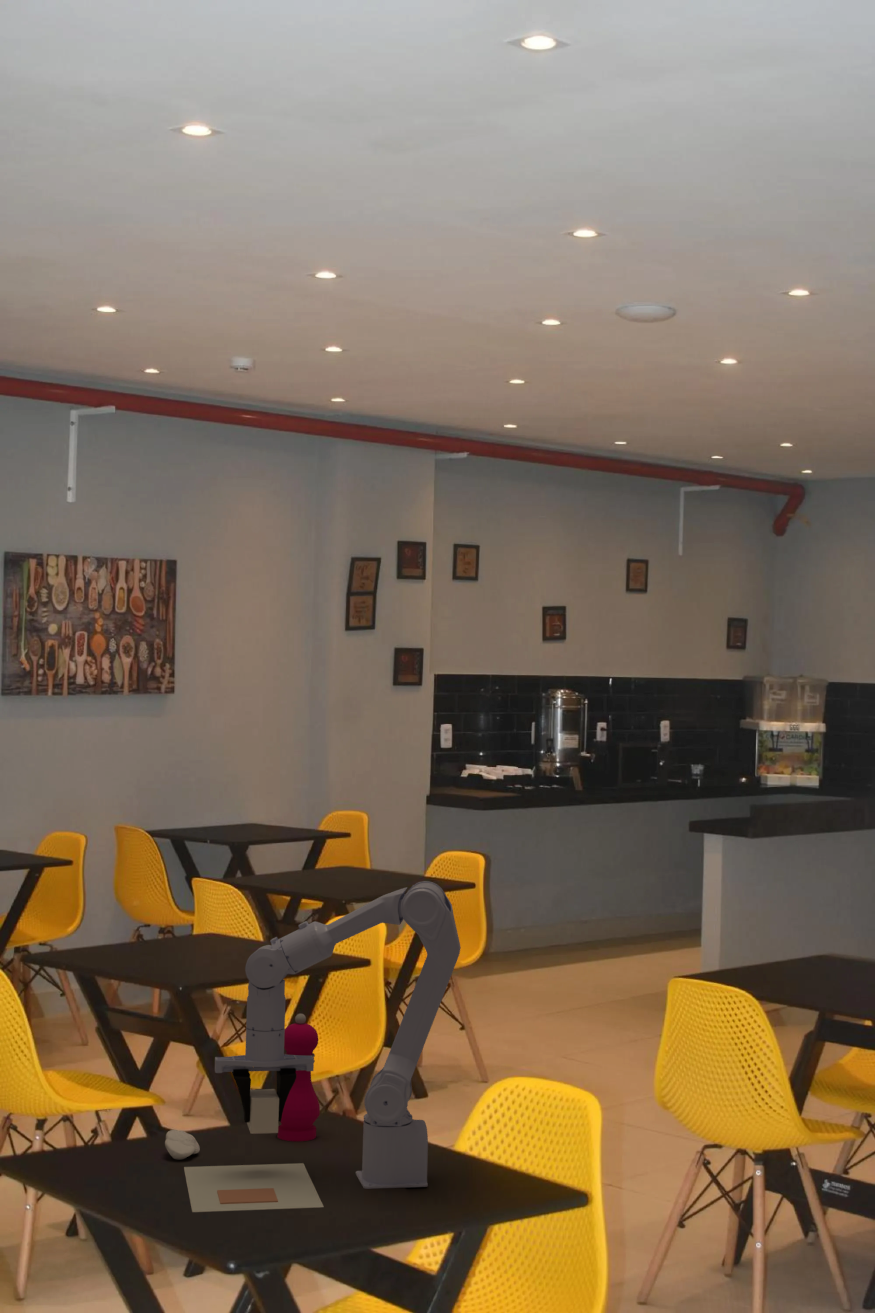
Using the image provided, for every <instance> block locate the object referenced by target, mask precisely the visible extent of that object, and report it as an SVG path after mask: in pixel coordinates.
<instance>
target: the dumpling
mask: <svg viewBox="0 0 875 1313" xmlns="http://www.w3.org/2000/svg"><path fill="white" fill-rule="evenodd" d="M164 1146H165V1149H166V1150H167V1152H168V1154H169V1155H170V1156H171V1157H172V1159H174V1160H179V1161H180V1160H181V1161H182V1160H185V1159H187V1157H190V1156H191V1155H195V1154H198V1153H199V1152H200V1151H201V1150H200V1148H201V1147H200V1145H199V1143H198V1141H197V1140H196V1138H195V1137H194V1136H193V1135H192V1134H190V1133H188V1132H186V1131H184V1130H178V1129H171V1130H169V1131H167V1132H166V1134H165V1141H164Z"/></svg>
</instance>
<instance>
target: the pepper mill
mask: <svg viewBox="0 0 875 1313" xmlns="http://www.w3.org/2000/svg"><path fill="white" fill-rule="evenodd" d="M294 1021H295V1023H292V1024H289V1025H288V1026H286V1027H285V1035H284V1051H286V1052H284V1055H302V1056H313V1058H314V1063H315V1056H316V1055H315V1053H314V1051H315V1049H316V1048H317V1047H318V1043H319V1035H318V1032H317V1029H315V1027H314V1026H313V1025H310V1024H309V1023H306V1021H307V1017H306V1015H305V1014H304V1013H297V1014H296V1016H295V1017H294ZM296 1074H297V1077H296V1080H295V1082H294V1084H293V1086H292V1088H291V1090H290V1092H289V1095H288V1097H287V1100H286V1103H285V1106H284V1109H283V1113H282V1119H281V1122H280V1125H279V1124H278V1133H277V1139H280V1140H281V1141H288V1142H304V1141H305V1142H306V1141H311V1140H315V1138H316V1139H317V1126H315V1124H314V1123H315V1122H316V1121H317V1120H318V1118H319V1116H320V1114H321V1110H320V1108H321V1107H320V1102H319V1099H318V1098H319V1097H318V1096H317V1094H316V1091H315V1089H314V1086H313V1082H312V1071H306V1070H296Z"/></svg>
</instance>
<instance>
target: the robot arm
mask: <svg viewBox="0 0 875 1313" xmlns="http://www.w3.org/2000/svg"><path fill="white" fill-rule="evenodd" d="M407 889H408V886H407V887H403V888H400V889H397V890H394V891H392V892H389V893H386V894H383V895H380V896H378V897H377V898H375V899H374V900H372V901H370V902H368V903H365V905H363V906H360V907H359V908H357V909H355V910H352V911H351V912H349V913H347V914H345V915H344V916H342V917H340V918H337V919H336V920H334V921H332V922H331V923H328V924H325V923H321V922H319V921H312V922H310V923H309V922H308V921H307V920H305V921H304V922H301V923H300V924H298V929H297V930H294V931H292V932H291V933H288V934H286V935H284V936H282V937H280V938H278V936H275V937H273V938H271V939H270V941H269V942H270V944H271V945H270V944H267V945H263V946H260V947H259V948H258V949H257V950H255V951H254V952H252V953H251V954H250V956H249V957H248V958H247V960H246V963H245V967H244V971H245V976H246V978H247V980H248V985H247V991H248V992H247V993H248V994H247V997H246V1020H245V1021H246V1023H245V1052H244V1053H245V1054H243V1055H241V1054H239V1055H231V1056H215V1057H214V1073H216V1074H223V1073H228V1072H229V1073H231V1074H232V1077H233V1079H234V1081H235V1084H236V1087H237V1091H238V1093H239V1096H240V1100H241V1105H242V1111H243V1120H244V1123H246V1124H247V1122H250V1090H251V1086H252V1085H251V1084H252V1079H251V1073H250V1072H276V1093H277V1095H278V1097H279V1118H278V1123H279V1122H280V1123H281V1119H282V1113H283V1109H284V1106H285V1103H286V1100H287V1097H288V1095H289V1092H290V1090H291V1088H292V1086H293V1084H294V1082H295V1080H296V1077H297V1074H296V1070H306V1071H311V1072H314V1068H315V1067H314V1064H315V1062H314V1060H315V1057H314V1058H313V1056H302V1055H284V1054H285V1049H284V1035H285V1029H286V1025H285V1024H286V1000H287V998H286V995H285V991H286V989H285V988H286V980H285V979H284V978H286V977H287V975H296V974H298V973H300V972H302V971H304V970H307V969H308V968H310V967H312V966H314V965H316V964H318V963H320V962H323V961H325V960H326V959H328V958H331V957H332V955H333V954H334V950H335V946H336V945H337V944H338V943H340V942H343V941H346V940H348V939H349V938H350V939H351V937H354V936H356V935H359V934H361V933H363V932H365V931H367V930H369V929H371V928H374V927H375V926H378V925H380V924H388V925H398V926H400V925H401V924H402V923H403V921H404V922H405V924H407V925H408V927H409V928H410V929H411V930H412V931H413V932H414V933H416V934H417V935H418V938H419V940H420V941H421V944H422V945H423V947H424V949H425V952H426V957H425V959H424V963H423V966H422V968H421V970H420V973H419V976H418V977H417V981H416V983H415V986H414V988H413V991H412V992H411V996H410V999H409V1001H408V1003H407V1006H406V1009H405V1011H404V1015H403V1017H402V1018H401V1019H402V1020H401V1022H400V1025H399V1026H398V1030H397V1033H396V1034H395V1036H394V1041H393V1042H392V1045H391V1048H390V1050H389V1053H388V1054H387V1058H386V1060H385V1063H384V1065H383V1067H382V1068H381V1069H380V1070H379V1071H378V1072H377V1073H376V1074H375V1075H374V1076H373V1078H372V1079H371V1082H370V1086H369V1088H368V1089H367V1091H366V1093H365V1096H364V1108H365V1111H366V1113H365V1114H364V1115H363V1126H362V1128H363V1130H362V1131H363V1132H362V1134H363V1135H362V1161H361V1162H362V1164H361V1170H356V1171H355V1176H356V1177H357V1178H358V1181H359V1182H360V1184H361V1187H363V1189H366V1190H368V1189H395V1188H396V1189H397V1188H405V1189H407V1188H426V1187H428V1186H429V1185H428V1184H429V1182H428V1155H429V1152H428V1150H429V1140H428V1139H429V1138H428V1136H429V1135H428V1128H427V1123H426V1122H425V1120H423V1119H413V1114H411V1113H410V1111H409V1109H408V1106H409V1104H408V1103H409V1101H410V1099H411V1097H412V1093H413V1087H412V1086H413V1084H412V1078H413V1075H414V1073H415V1070H416V1068H417V1065H418V1062H419V1060H420V1056H421V1054H422V1053H423V1052H422V1051H423V1049H424V1046H425V1045H426V1042H427V1039H428V1036H429V1035H430V1031H431V1029H432V1026H433V1024H434V1021H435V1018H436V1016H437V1013H438V1011H439V1008H440V1006H441V1003H442V1000H443V997H444V996H445V993H446V990H447V989H448V985H449V982H450V980H451V977H452V974H453V972H454V969H455V966H456V965H457V962H458V959H459V957H460V953H461V942H460V937H459V934H458V929H457V924H456V921H455V920H456V919H455V916H454V910H453V905H452V902H451V901H450V899H449V898H448V896H447V895H446V893H445V891H444V890H443V888H442V887H441V886H440V885H439V884H437V883H435V882H432V881H429V880H423V881H418V882H416V883H415V884H412V886H411V887H410V888H409V889H408V890H407ZM406 890H407V892H406Z"/></svg>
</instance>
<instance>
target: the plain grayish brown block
mask: <svg viewBox="0 0 875 1313" xmlns="http://www.w3.org/2000/svg"><path fill="white" fill-rule="evenodd" d="M278 1118H279V1097H278V1095H277V1090H276V1089H275V1088H266V1089H265V1088H263V1089H260V1088H259V1089H250V1122H247V1123H246V1124H247V1128H248V1130H249V1132H250V1134H253V1135H255V1134H256V1135H257V1134H278V1126H279V1122H278Z"/></svg>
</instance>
